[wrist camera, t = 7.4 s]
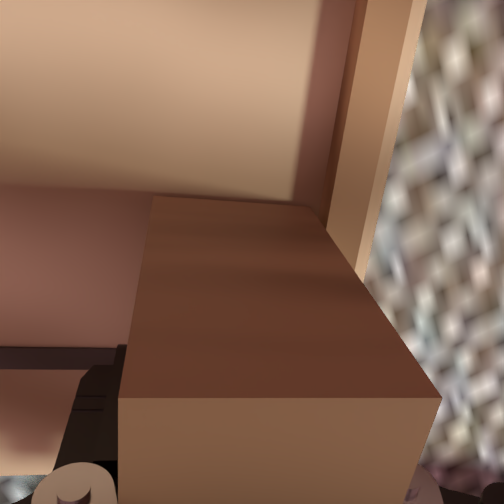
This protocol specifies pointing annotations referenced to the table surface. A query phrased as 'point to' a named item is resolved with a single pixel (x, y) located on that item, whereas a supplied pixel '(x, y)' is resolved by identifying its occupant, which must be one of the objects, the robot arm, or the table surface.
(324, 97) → the board
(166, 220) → the block
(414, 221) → the table surface
